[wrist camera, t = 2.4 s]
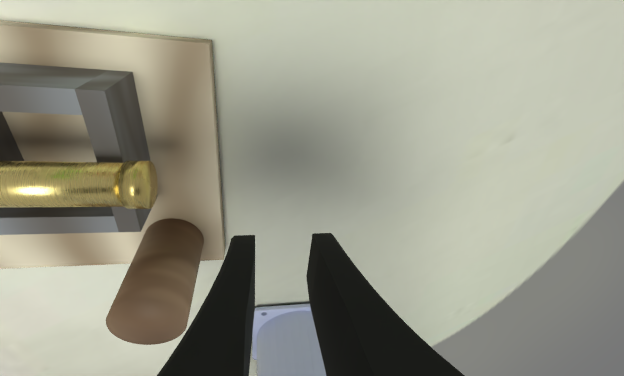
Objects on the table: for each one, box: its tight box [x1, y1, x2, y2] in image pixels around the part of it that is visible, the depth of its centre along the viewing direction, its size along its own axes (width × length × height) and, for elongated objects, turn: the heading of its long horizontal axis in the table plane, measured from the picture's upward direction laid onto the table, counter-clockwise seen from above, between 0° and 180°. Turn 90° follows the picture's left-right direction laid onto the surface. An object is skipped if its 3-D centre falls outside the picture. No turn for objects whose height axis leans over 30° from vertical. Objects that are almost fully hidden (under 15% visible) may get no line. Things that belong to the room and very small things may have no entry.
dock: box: [0, 20, 225, 269], centre depth 14 cm, size 16×14×6 cm
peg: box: [106, 218, 204, 345], centre depth 17 cm, size 4×4×6 cm
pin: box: [0, 160, 158, 209], centre depth 12 cm, size 9×2×2 cm, turn 84°
